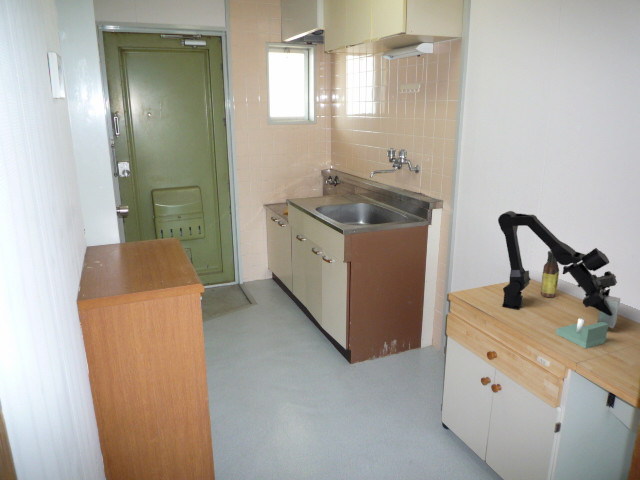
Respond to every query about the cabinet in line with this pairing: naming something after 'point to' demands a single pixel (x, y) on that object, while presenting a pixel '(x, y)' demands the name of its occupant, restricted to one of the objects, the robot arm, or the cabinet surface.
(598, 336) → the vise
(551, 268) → the sauce bottle
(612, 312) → the gray upright column
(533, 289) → the cabinet surface
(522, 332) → the cabinet surface
